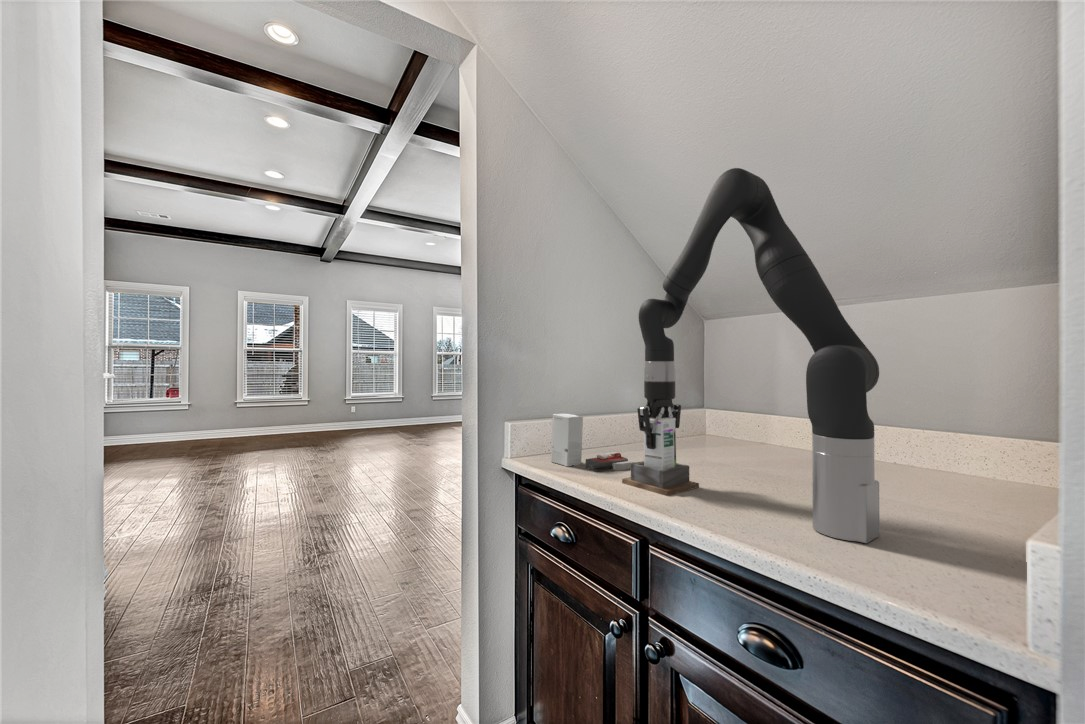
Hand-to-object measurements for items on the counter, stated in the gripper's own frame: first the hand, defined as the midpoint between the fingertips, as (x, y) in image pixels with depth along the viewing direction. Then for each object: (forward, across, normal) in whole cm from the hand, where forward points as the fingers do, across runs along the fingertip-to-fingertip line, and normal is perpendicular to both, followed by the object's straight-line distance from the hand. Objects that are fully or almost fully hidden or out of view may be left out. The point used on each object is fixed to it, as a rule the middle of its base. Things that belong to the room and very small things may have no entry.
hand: (660, 447), depth 112 cm
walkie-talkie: (+10, +6, +21) cm, 24 cm away
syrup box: (+7, 0, 0) cm, 7 cm away
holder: (+9, 0, 0) cm, 9 cm away
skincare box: (+10, -3, +33) cm, 35 cm away
